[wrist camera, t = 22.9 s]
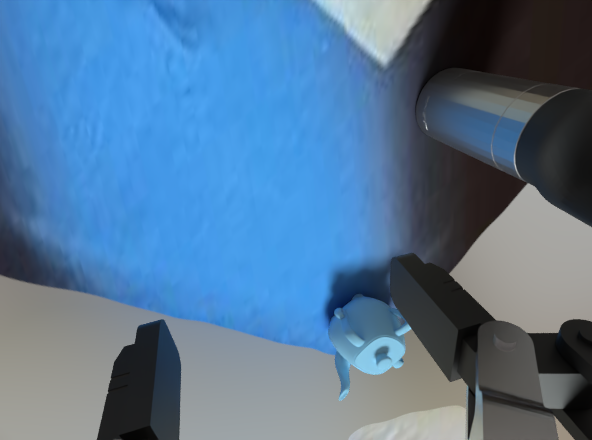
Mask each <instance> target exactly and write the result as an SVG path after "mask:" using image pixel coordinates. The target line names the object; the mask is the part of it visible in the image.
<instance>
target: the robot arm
mask: <svg viewBox="0 0 592 440" xmlns="http://www.w3.org/2000/svg"><path fill="white" fill-rule="evenodd" d="M416 119H417V123H418V125H419V127H420V129H421V130H422V131H423V132H424V133H425V134H426V135H428V136H430V137H432V138H434V139H436V140H438V141H440V142H442V143H444V144H446V145H448V146H451V147H453V148H455V149H457V150H459V151H461V152H463V153H465V154H468V155H470V156H472V157H474V158H476V159H478V160H480V161H482V162H485V163H487V164H489V165H491V166H493V167H495V168H497V169H499V170H502V171H504V172H506V173H508V174H510V175H512V176H515V177H517V178H519V179H521V180H523V181H525V182H527V183H529V184H531V185H533V186H535V187H536V188H537V190H538V191H539V192H540V194H541V195H542V196H543V197H544V198H545V199H546V200H547V201H548V202H550V203H551V204H553V205H554V206H556V207H557V208H559V209H561V210H563V211H565V212H567V213H568V214H570V215H572V216H573V217H575V218H577V219H579V220H580V221H582V222H584V223H586V224H587V225H589V226H591V227H592V90H587V89H579V88H574V87H568V86H562V85H556V84H549V83H543V82H537V81H531V80H525V79H520V78H514V77H508V76H502V75H496V74H490V73H485V72H479V71H474V70H468V69H462V68H448V69H445V70H443V71H440V72H439V73H437V74H436V75H434V76H433V77H432V78H431V79H430V80H429V81H428V82H427V84H426V85H425V86H424V88H423V89H422V91H421V93H420V95H419V98H418V101H417V106H416ZM390 292H391V297H392V300H393V302H394V304H395V306H396V308H397V309H398V310H399V312H400V313H401V315H402V316H403V317H404V319H405V320H406V322H407V323H408V324H409V326H410V327H411V329H412V330H413V331H414V332H415V334H416V335H417V337H418V338H419V340H420V341H421V342H422V344H423V345H424V347H425V348H426V349H427V351H428V352H429V353H430V355H431V356H432V358H433V359H434V361H435V362H436V363H437V365H438V366H439V367H440V369H441V370H442V372H443V373H444V374H445V376H446V377H447V379H448V380H449V381H450V382H452V381H455V380H458V379H461V378H462V379H463V380H464V381H465V383H466V384H467V390H466V438H465V440H559V439H558V434H557V429H556V423H555V418H554V416H555V417H556V418H557V419H558V420H559V422H560V423H561V424H562V425H563V426H564V427H565V429H566V430H567V431H568V432H569V433H570V435H571V436H572V437H573V438H574V439H575V440H592V322H591V321H587V320H580V319H573V320H569V321H566V322H564V323H563V324H562V325H561V328H560V330H559V333H526V332H525V331H524V330H522V329H521V328H520V327H518V326H516V325H514V324H511V323H509V322H505V321H496V320H495V319H494V318H493V317H492V316H491V315H490V314H489V313H488V312H487V311H486V310H485V309H484V308H483V307H482V306H481V305H480V304H479V303H478V302H477V301H476V300H475V299H474V298H473V297H472V296H471V295H470V294H469V293H468V292H466V290H463V288H462V286H460V285H459V284H458V283H457V282H455V281H454V279H453V278H452V277H451V276H450V275H449V274H448V273H447V272H446V271H445V270H444V269H442V268H440V267H438V266H436V265H434V264H432V263H427V264H424V263H423V262H422V261H421V260H420V259H419V258H418V257H417V255H415V254H414V253H409V254H405V255H401V256H397V257H394V258H392V259H391V272H390ZM180 387H181V362H180V357H179V353H178V350H177V347H176V345H175V343H174V341H173V338H172V336H171V334H170V332H169V329H168V327H167V325H166V323H165V321H164V320H158V321H154V322H150V323H147V324H143V325H140V326H139V327H138V329H137V333H136V339H135V344H132V345H128V346H125V347H124V348H123V349H122V351H121V353H120V354H119V356H118V357H117V359H116V360H115V362H114V366H113V370H112V375H111V381H110V384H109V388H108V394H107V397H106V402H105V406H104V411H103V415H102V420H101V424H100V429H99V433H98V438H97V440H179V426H180Z"/></svg>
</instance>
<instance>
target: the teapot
mask: <svg viewBox="0 0 592 440" xmlns="http://www.w3.org/2000/svg"><path fill="white" fill-rule="evenodd" d="M334 314H335V315H334V316H333V317H332V318H331V323H330V326H329V331H328V334H329V338H330V340H331V342H332V344H333V345H334V347H335V348H336V350H337V352H336V355H335V365H336V369H337V372H338V375H339V377H340V381H341V392H340V396H339V400H340V401H341V400H343V399H344V398H345V397H346V395H347V394H348V392H349V388H350V380H349V368H350V365H351V364H352V365H353V366H355V367H356V368H358V369H359V370H361V371H363V372H365V373H368V374H375V375H376V374H382V373H384V372H385V371H386V370H388V369H389V368H391V367H392V366H393V367H395V368H400V367H401V366H402V365H403V363H404V361H403V359H402V356H403V355H404V353H405V340H404V333H406V332H407V331H408V330H410V329H411V327H410V326H409V324H408V323H407V322H406V320H405V319H404V317H403V316H402V315H401V313H400V312H399V310H398V309H394V308H391V307H390V306H389V305H387V304H386V303H384V302H382V301H380V300H377V299H374V298H370V297H364V296H363V295H362V294H356V295H355V296H354V297H353V298H352V301H350V302H349V303H348V304H346V305H345V306H344V307H343V308H337V309H335V311H334ZM397 316H399V317H401V318H403V319H404V320H405V323H404V324H403V325H402V326H401V324H400V321H399V319H398V317H397Z"/></svg>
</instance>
